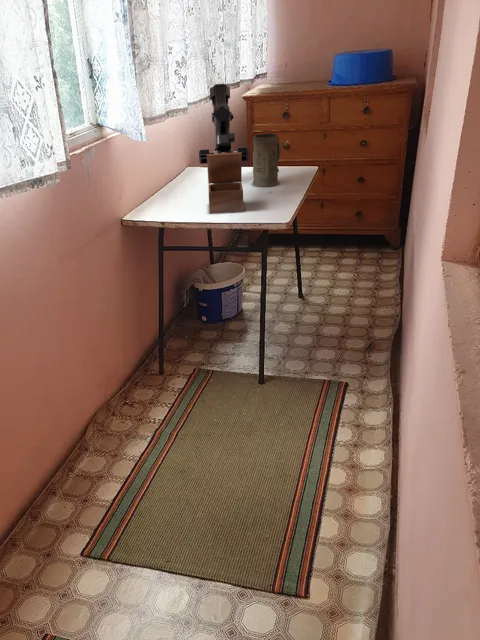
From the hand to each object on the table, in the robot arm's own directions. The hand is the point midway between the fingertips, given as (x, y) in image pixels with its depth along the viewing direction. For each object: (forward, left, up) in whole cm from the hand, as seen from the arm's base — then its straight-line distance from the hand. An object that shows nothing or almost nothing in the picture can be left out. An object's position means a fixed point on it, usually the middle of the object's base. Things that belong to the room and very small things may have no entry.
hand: (224, 174), depth 228 cm
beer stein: (-9, +36, -11) cm, 38 cm away
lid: (+2, -2, +3) cm, 4 cm away
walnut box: (+4, -4, -11) cm, 12 cm away
